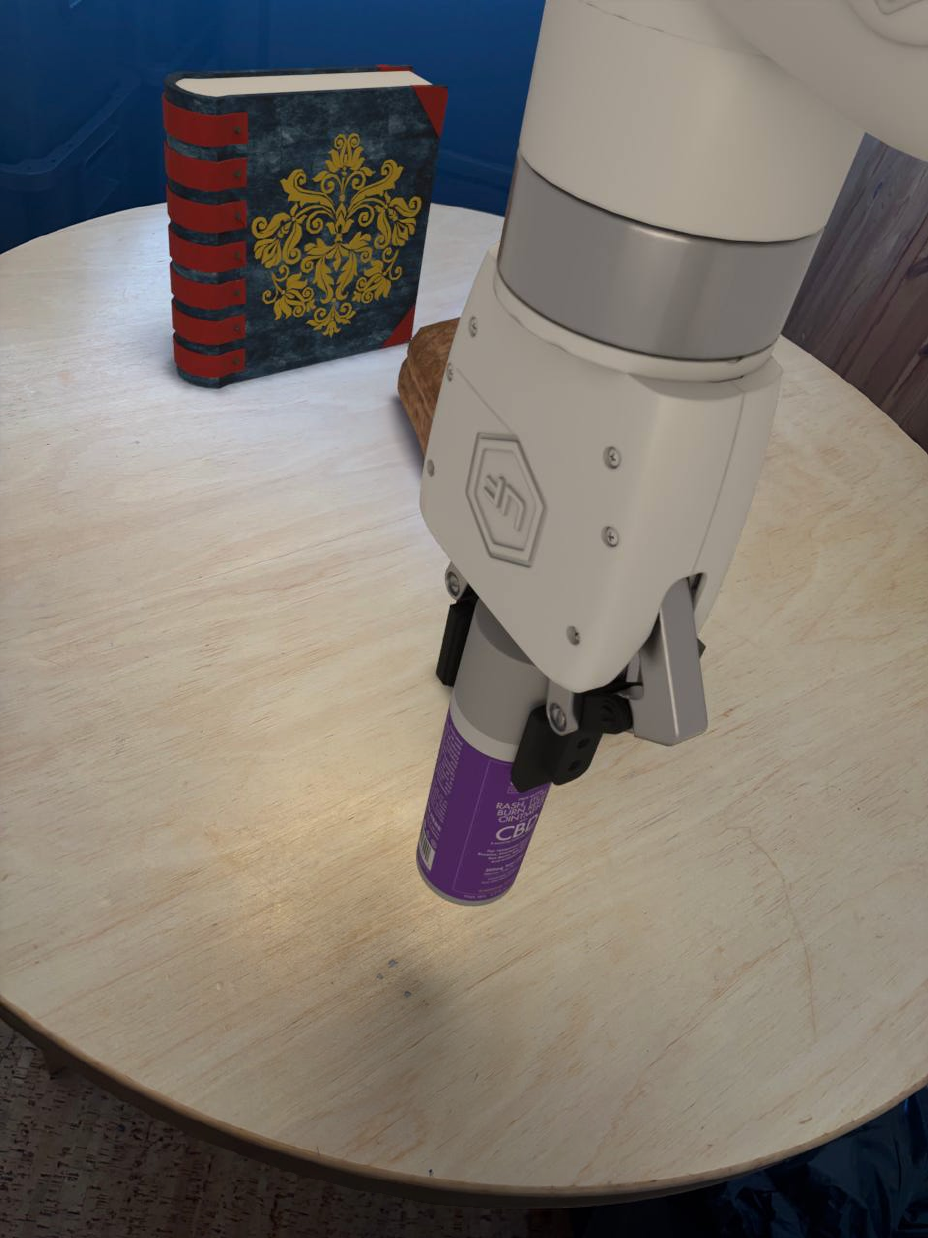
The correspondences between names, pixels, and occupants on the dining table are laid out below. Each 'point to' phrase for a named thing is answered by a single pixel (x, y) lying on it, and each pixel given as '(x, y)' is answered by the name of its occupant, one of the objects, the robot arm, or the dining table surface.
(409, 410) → the bread
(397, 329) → the book
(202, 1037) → the dining table surface
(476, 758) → the container
